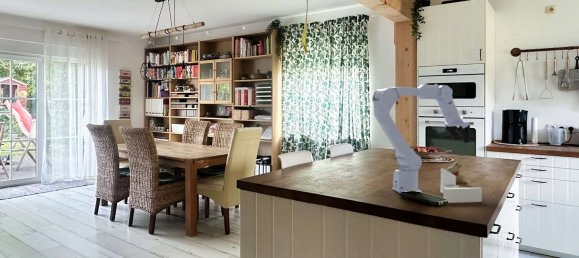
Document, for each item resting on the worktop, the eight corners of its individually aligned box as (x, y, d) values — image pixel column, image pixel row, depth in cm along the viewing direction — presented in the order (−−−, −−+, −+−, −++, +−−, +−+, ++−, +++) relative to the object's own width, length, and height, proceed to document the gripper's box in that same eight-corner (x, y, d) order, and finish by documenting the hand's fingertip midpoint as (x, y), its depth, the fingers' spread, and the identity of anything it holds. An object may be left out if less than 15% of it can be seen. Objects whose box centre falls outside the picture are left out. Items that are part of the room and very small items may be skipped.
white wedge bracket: (431, 186, 152) (440, 167, 152) (449, 197, 154) (458, 179, 155) (436, 188, 148) (446, 169, 149) (455, 199, 151) (464, 180, 151)
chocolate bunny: (449, 180, 178) (450, 159, 177) (467, 182, 173) (467, 160, 172) (445, 181, 174) (446, 160, 173) (463, 184, 169) (464, 162, 168)
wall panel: (445, 202, 136) (445, 189, 136) (442, 201, 138) (443, 188, 137) (481, 201, 138) (481, 188, 137) (478, 200, 139) (478, 187, 139)
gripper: (468, 108, 150) (481, 138, 152) (448, 106, 164) (460, 134, 166) (453, 116, 149) (466, 146, 151) (434, 114, 164) (446, 141, 166)
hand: (462, 140), depth 159 cm, fingers open, 7 cm apart
